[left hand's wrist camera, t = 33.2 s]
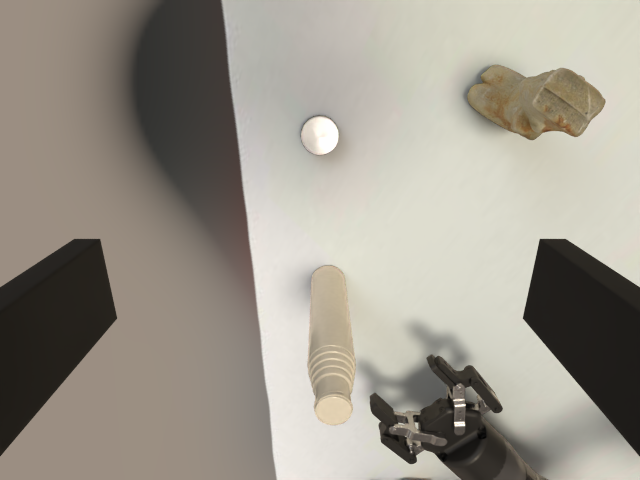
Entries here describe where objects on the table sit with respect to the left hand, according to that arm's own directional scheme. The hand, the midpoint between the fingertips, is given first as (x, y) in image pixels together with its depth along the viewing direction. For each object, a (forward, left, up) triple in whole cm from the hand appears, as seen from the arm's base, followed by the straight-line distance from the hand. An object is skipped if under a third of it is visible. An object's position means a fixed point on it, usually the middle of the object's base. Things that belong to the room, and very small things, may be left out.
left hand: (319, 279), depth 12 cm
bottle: (+18, 0, -35) cm, 40 cm away
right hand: (+28, +8, -27) cm, 39 cm away
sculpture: (-2, +19, -35) cm, 40 cm away
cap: (0, 0, -34) cm, 34 cm away
